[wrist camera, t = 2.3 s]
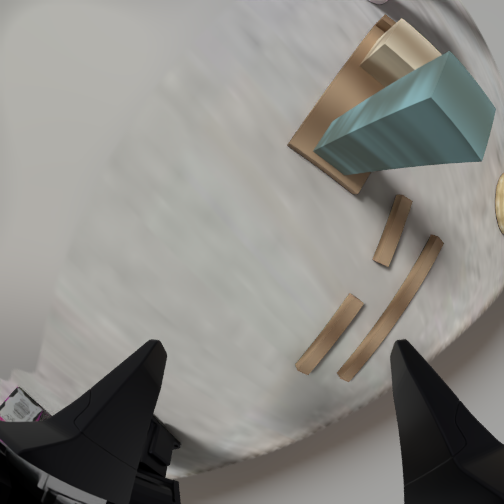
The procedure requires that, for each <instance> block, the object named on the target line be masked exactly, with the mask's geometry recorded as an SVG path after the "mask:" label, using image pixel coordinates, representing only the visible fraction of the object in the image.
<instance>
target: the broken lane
mask: <svg viewBox="0 0 504 504" xmlns="http://www.w3.org/2000/svg"><path fill="white" fill-rule="evenodd" d="M411 205H412V201H411V200H410V199H408V198H407V197H405V196H404V195H396V198H395V201H394V203H393V206H392V209H391V212H390V215H389V218H388V221H387V223H386V226H385V229H384V231H383V234H382V237H381V239H380V242H379V244H378V247H377V249H376V252H375V254H374V257H373V259H372V260H374V261H376V262H378V263H381V264H383V265H385V266H387V267H389V264H390V262H391V259H392V257H393V254H394V252H395V249H396V247H397V244H398V242H399V239H400V236H401V234H402V231H403V228H404V225H405V222H406V220H407V217H408V214H409V211H410V208H411ZM443 244H444V243H443V242H442V240H441V239H440V238H439V237H438V236H435V235H431V236H430V238H429V240H428V242H427V244H426V246H425V247H424V249H423V251H422V253H421V254H420V256H419V258H418V260H417V261H416V263H415V265H414V267H413V268H412V270H411V272H410V273H409V275H408V276H407V278H406V280H405V281H404V283H403V284H402V286H401V288H400V289H399V291H398V292H397V294H396V295H395V297H394V298H393V300H392V301H391V303H390V304H389V306H388V307H387V309H386V310H385V312H384V313H383V314H382V316H381V317H380V319H379V320H378V321H377V323H376V324H375V326H374V327H373V328H372V330H371V331H370V332H369V334H368V335H367V336H366V338H365V339H364V340H363V342H362V343H361V344H360V345H359V347H358V348H357V349H356V350H355V352H354V353H353V354H352V355H351V357H350V358H349V359H348V360H347V362H346V363H345V364H344V365H343V366H342V367H341V369H340V370H339V371H338V372H337V374H338V375H339V377H340V379H343V380H345V381H347V382H349V381H350V380H351V379H352V378H353V377H354V376H355V374H356V373H357V372H358V371H359V370H360V369H361V367H362V366H363V365H364V364H365V363H366V361H367V360H368V359H369V358H370V356H371V355H372V354H373V353H374V351H375V350H376V349H377V348H378V346H379V345H380V344H381V342H382V341H383V340H384V338H385V337H386V336H387V334H388V333H389V332H390V330H391V329H392V327H393V326H394V325H395V323H396V322H397V320H398V319H399V318H400V316H401V315H402V313H403V312H404V310H405V309H406V307H407V306H408V304H409V303H410V301H411V300H412V298H413V296H414V295H415V293H416V292H417V290H418V289H419V287H420V285H421V284H422V282H423V280H424V279H425V277H426V275H427V274H428V272H429V270H430V268H431V267H432V265H433V263H434V261H435V259H436V258H437V256H438V254H439V252H440V250H441V248H442V246H443ZM363 304H364V303H363V302H361V301H360V300H359V299H358V298H356V297H355V296H353V295H352V294H350V293H349V295H348V296H347V298H346V299H345V300H344V302H343V303H342V305H341V306H340V307H339V309H338V310H337V312H336V313H335V314H334V316H333V317H332V318H331V320H330V321H329V322H328V324H327V325H326V326H325V328H324V329H323V330H322V332H321V333H320V334H319V336H318V337H317V338H316V339H315V341H314V342H313V343H312V344H311V346H310V347H309V348H308V349H307V351H306V352H305V353H304V354H303V356H302V357H301V358H300V359H299V361H298V362H297V363H296V364H295V365H296V368H297V370H298V371H300V372H302V373H304V374H306V375H309V373H310V372H311V371H312V370H313V369H314V368H315V366H316V365H317V364H318V363H319V362H320V360H321V359H322V358H323V357H324V356H325V354H326V353H327V352H328V351H329V349H330V348H331V347H332V346H333V344H334V343H335V342H336V341H337V339H338V338H339V337H340V335H341V334H342V333H343V332H344V330H345V329H346V328H347V326H348V325H349V324H350V322H351V321H352V320H353V318H354V317H355V315H356V314H357V313H358V311H359V310H360V308H361V307H362V306H363Z"/></svg>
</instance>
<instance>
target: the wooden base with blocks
mask: <svg viewBox="0 0 504 504" xmlns="http://www.w3.org/2000/svg"><path fill="white" fill-rule="evenodd" d="M395 24H396V22H394V21H393V20H392V19H391V18H389V17H388V16H387V15H384V16H383V17H382V18H381V19H380V20H379V21H378V22H377V23H376V24H375V25H374V26H373V28H372V29H371V30H370V31H369V33H368V34H367V35H366V37H365V38H364V39H363V41H362V42H361V43H360V45H359V46H358V47H357V49H356V50H355V51H354V53H353V54H352V55H351V57H350V58H349V59H348V61H347V62H346V63H345V65H344V66H343V67H342V69H341V70H340V71H339V73H338V74H337V75H336V77H335V78H334V80H333V81H332V82H331V84H330V85H329V86H328V88H327V89H326V91H325V92H324V93H323V95H322V96H321V98H320V99H319V100H318V102H317V103H316V105H315V106H314V107H313V109H312V110H311V112H310V113H309V115H308V116H307V117H306V119H305V120H304V122H303V123H302V124H301V126H300V127H299V129H298V130H297V132H296V133H295V135H294V136H293V137H292V139H291V140H290V142H289V143H288V145H287V146H288V147H290V148H291V149H293V150H294V151H296V152H297V153H299V154H300V155H301V156H303V157H304V158H306V159H307V160H308V161H310V162H311V163H313V164H314V165H315V166H317V167H318V168H319V169H321V170H322V171H323V172H325V173H326V174H327V175H329V176H330V177H331V178H333V179H334V180H335V181H337V182H338V183H339V184H340V185H342V186H343V187H344V188H345V189H347V190H348V191H349V192H350V193H352V194H358V193H359V191H360V190H361V188H362V186H363V185H364V183H365V181H366V180H367V178H368V176H369V175H370V173H371V172H373V171H380V170H388V169H397V168H405V167H415V166H425V165H436V164H448V163H462V162H479V161H482V159H483V156H484V153H485V150H486V146H487V143H488V139H489V136H490V132H491V128H492V124H493V120H494V115H495V110H496V108H495V107H494V105H493V104H492V103H491V101H490V100H489V98H488V97H487V95H486V94H485V93H484V91H483V90H482V89H481V87H480V86H479V85H478V83H477V82H476V81H475V80H474V78H473V77H472V76H471V75H470V73H469V72H468V71H467V70H466V69H465V67H464V66H463V65H462V64H461V63H460V62H459V60H458V59H457V58H456V57H455V56H454V55H453V54H452V53H451V52H450V51H449V52H447V53H445V54H443V55H441V56H439V57H437V58H435V59H434V60H432V61H430V62H428V63H426V64H425V65H423V66H421V67H419V68H417V69H416V70H414V71H412V72H410V73H409V74H407V75H405V76H404V77H402V78H400V79H399V80H397V81H395V82H394V83H392V84H390V85H389V86H387V87H385V86H383V85H382V84H381V83H380V82H379V81H377V80H376V79H375V78H374V77H373V76H371V75H370V74H369V73H368V72H366V71H365V70H364V69H363V68H361V67H360V66H359V65H360V64H361V63H362V61H363V60H364V58H365V57H366V55H367V54H368V53H369V51H370V50H371V48H372V47H373V46H374V44H375V43H376V41H377V40H378V39H379V38H380V37H381V36H382V35H383V34H384V33H386V32H387V31H388V30H389V29H390V28H391V27H392V26H393V25H395Z"/></svg>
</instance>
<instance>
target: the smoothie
mask: <svg viewBox="0 0 504 504" xmlns="http://www.w3.org/2000/svg"><path fill="white" fill-rule="evenodd" d="M368 1H370V2H372V3H375V4H383V3H385V2H386V1H388V0H368Z"/></svg>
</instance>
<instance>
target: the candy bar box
mask: <svg viewBox="0 0 504 504" xmlns="http://www.w3.org/2000/svg"><path fill="white" fill-rule="evenodd" d="M42 412H43V409H42V408H41V407H40V406H39V405H38V404H37V403H35V402H34V401H33V400H32V399H31V398H30V397H29V396H28V395H27V394H26V393H25V392H24V391H23V390H21V389H20V388H19V387H17V388H16V389H15V390H14V391H13V392H12V393H11V395H10V396H9V397H8V398H7V399H6V400H5V401H4V402H3V404H2V405H1V406H0V420H2V421H6V422H30V421H39V419H40V417H41V414H42ZM0 441H1V442H3V441H2V440H1V439H0ZM3 443H4V442H3ZM4 444H5V443H4ZM5 445H6V444H5Z"/></svg>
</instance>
